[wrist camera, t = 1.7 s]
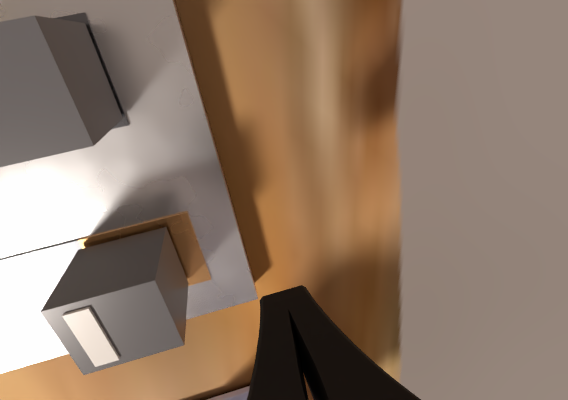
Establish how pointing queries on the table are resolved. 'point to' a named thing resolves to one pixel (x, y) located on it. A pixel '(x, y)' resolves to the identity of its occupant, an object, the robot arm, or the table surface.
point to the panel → (120, 178)
